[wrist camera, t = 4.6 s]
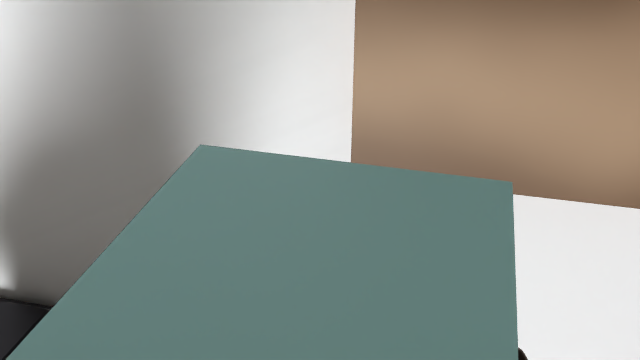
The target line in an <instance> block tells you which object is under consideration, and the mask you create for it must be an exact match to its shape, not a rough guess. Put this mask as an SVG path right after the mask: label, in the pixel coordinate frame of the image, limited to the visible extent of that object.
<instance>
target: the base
mask: <svg viewBox="0 0 640 360" xmlns="http://www.w3.org/2000/svg"><path fill="white" fill-rule="evenodd" d="M351 163H358V164H367V165H375V166H383V167H392V168H400V169H408V170H417V171H425V172H434V173H442V174H450V175H459V176H467V177H475V178H484V179H492V180H501V181H509V182H512V184H513V194H516V195H525V196H534V197H542V198H551V199H560V200H568V201H577V202H586V203H594V204H603V205H612V206H620V207H629V208H637V209H640V0H356V5H355V40H354V75H353V110H352V146H351Z"/></svg>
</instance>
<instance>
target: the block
mask: <svg viewBox="0 0 640 360" xmlns="http://www.w3.org/2000/svg"><path fill="white" fill-rule="evenodd" d="M6 360H518V335H517V305H516V275H515V244H514V214H513V184H512V182H509V181H501V180H492V179H484V178H475V177H467V176H459V175H450V174H442V173H434V172H425V171H417V170H408V169H400V168H392V167H383V166H375V165H367V164H358V163H350V162H341V161H333V160H325V159H316V158H308V157H299V156H291V155H283V154H274V153H266V152H258V151H249V150H241V149H232V148H224V147H216V146H207V145H200V146H199V147H198V148H197V149H196V150H195V151H194V152H193V153H192V154H191V155H190V157H189V158H188V159H187V160H186V161H185V162H184V163H183V164H182V165H181V166H180V168H179V169H178V170H177V171H176V172H175V173H174V174H173V175H172V176H171V178H170V179H169V180H168V181H167V182H166V183H165V184H164V185H163V186H162V187H161V189H160V190H159V191H158V192H157V193H156V194H155V195H154V196H153V197H152V199H151V200H150V201H149V202H148V203H147V204H146V205H145V206H144V207H143V208H142V210H141V211H140V212H139V213H138V214H137V215H136V216H135V217H134V218H133V219H132V221H131V222H130V223H129V224H128V225H127V226H126V227H125V228H124V229H123V231H122V232H121V233H120V234H119V235H118V236H117V237H116V238H115V239H114V240H113V242H112V243H111V244H110V245H109V246H108V247H107V248H106V249H105V250H104V252H103V253H102V254H101V255H100V256H99V257H98V258H97V259H96V260H95V261H94V263H93V264H92V265H91V266H90V267H89V268H88V269H87V270H86V271H85V272H84V274H83V275H82V276H81V277H80V278H79V279H78V280H77V281H76V282H75V284H74V285H73V286H72V287H71V288H70V289H69V290H68V291H67V292H66V293H65V295H64V296H63V297H62V298H61V299H60V300H59V301H58V302H57V303H56V305H55V306H54V307H53V308H52V309H51V310H50V311H49V312H48V313H47V314H46V316H45V317H44V318H43V319H42V320H41V321H40V322H39V323H38V324H37V325H36V327H35V328H34V329H33V330H32V331H31V332H30V333H29V334H28V335H27V337H26V338H25V339H24V340H23V341H22V342H21V343H20V344H19V345H18V346H17V348H16V349H15V350H14V351H13V352H12V353H11V354H10V355H9V356H8V357H7V359H6Z"/></svg>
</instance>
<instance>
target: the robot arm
mask: <svg viewBox="0 0 640 360" xmlns="http://www.w3.org/2000/svg"><path fill="white" fill-rule="evenodd" d="M52 308H53V307H48V306H43V305H37V304H31V303H26V302H20V301H15V300H9V299H3V298H0V360H6V359H7V357H8V356H9V355H10V354H11V353H12V352H13V351H14V350H15V349H16V348H17V346H18V345H19V344H20V343H21V342H22V341H23V340H24V339H25V338H26V337H27V335H28V334H29V333H30V332H31V331H32V330H33V329H34V328H35V327H36V325H37V324H38V323H39V322H40V321H41V320H42V319H43V318H44V317H45V316H46V314H47V313H48V312H49V311H50V310H51V309H52ZM518 360H528V359H527V357H526V355H525V354H524V352H523V351H522V350H521V349H520V348H518Z"/></svg>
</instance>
